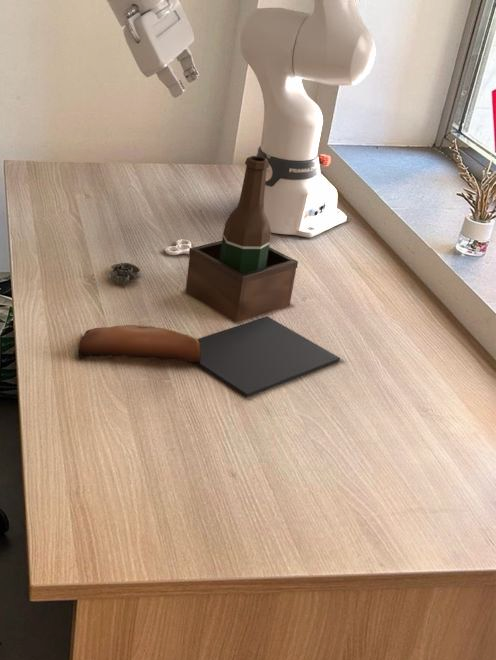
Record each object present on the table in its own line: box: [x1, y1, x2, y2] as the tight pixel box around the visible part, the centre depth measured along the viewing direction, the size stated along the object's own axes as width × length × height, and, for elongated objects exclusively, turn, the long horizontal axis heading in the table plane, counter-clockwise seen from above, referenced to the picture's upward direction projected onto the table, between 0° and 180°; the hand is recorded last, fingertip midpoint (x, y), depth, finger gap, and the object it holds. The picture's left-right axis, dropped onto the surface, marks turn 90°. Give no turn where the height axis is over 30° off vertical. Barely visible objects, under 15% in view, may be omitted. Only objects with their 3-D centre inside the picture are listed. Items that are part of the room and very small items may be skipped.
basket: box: [185, 239, 299, 323], centre depth 159 cm, size 13×13×8 cm
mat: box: [191, 316, 341, 398], centre depth 145 cm, size 20×16×1 cm
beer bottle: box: [220, 155, 272, 274], centre depth 154 cm, size 8×8×24 cm
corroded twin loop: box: [108, 262, 141, 286], centre depth 163 cm, size 5×8×1 cm, turn 173°
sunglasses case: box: [77, 324, 201, 364], centre depth 141 cm, size 18×7×7 cm
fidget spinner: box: [164, 239, 194, 256], centre depth 175 cm, size 7×6×1 cm
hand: (187, 87), depth 145 cm, fingers open, 8 cm apart
